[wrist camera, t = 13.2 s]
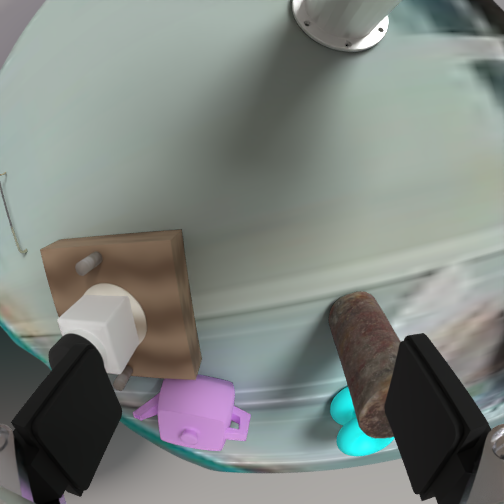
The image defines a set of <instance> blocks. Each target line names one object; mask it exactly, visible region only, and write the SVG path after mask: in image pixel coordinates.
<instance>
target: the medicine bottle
mask: <svg viewBox="0 0 504 504" xmlns="http://www.w3.org/2000/svg"><path fill="white" fill-rule="evenodd" d="M57 322H58V325H59V328H60V331H61V333H62V338H61V339H60V340H59V341H58V342H57V343H56V344H55V345H54V346H53V347H52V348H51V349H50V351H49V363H50V366H51V368H52V370H53V369H54V368H55V366H56V365H57V364H58V363H59V362H60V360H61V359H62V358H63V357H64V356H65V355H66V353H67V352H68V351H69V350H70V349H71V348H72V346H73V345H74V344H76V343H81V344H91V345H93V346H94V348H95V349H96V350H98V352H99V354H100V357H101V359H102V362H103V365H104V367H105V370H106V372H107V373H111V374H121V373H122V372H123V370H124V368H125V366H126V365H127V363H128V361H129V360H130V358H131V356H132V355H133V353H134V351H135V350H136V348H137V346H138V345H139V338H138V334H137V330H136V326H135V322H134V318H133V313H132V309H131V304H130V300H129V297H128V296H103V295H84V296H82V297H81V298H80V299H79V300H78V301H77V302H76V303H75V304H73V305H72V306H71V307H70V308H69V309H68V310H67V311H66V312H65V313H64V314H62V315H61V316H60V317H59V318H58V320H57Z"/></svg>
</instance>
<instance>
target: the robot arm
mask: <svg viewBox="0 0 504 504" xmlns="http://www.w3.org/2000/svg"><path fill="white" fill-rule="evenodd" d="M401 1H402V0H292V11H293V15H294V17H295V20H296V22H297V23H298V25H299V26H300V28H301V29H302V30H303V31H304V32H305V33H306V34H307V35H308V36H309V37H311V38H312V39H313V40H315V41H316V42H318V43H320V44H321V45H324V46H326V47H329V48H331V49H335V50H339V51H345V52H359V51H363V50H367V49H369V48H371V47H373V46H375V45H376V44H377V43H378V42H379V41H380V40H381V39H382V38H383V37H384V36H385V34H386V32H387V28H388V14H389V13H390V12H391V11H392V10H393V9H394V8H395V7H396V6H397V5H398V4H399V3H400V2H401ZM305 25H308V26H305ZM345 45H348V47H347V46H345ZM384 409H385V414H386V417H387V419H388V422H389V425H390V427H391V430H392V432H393V435H394V438H395V441H396V443H397V446H398V449H399V451H400V454H401V457H402V460H403V462H404V465H405V468H406V470H407V474H408V476H409V480H410V482H411V486H412V489H413V491H414V493H415V494H420V497H421V500H422V501H424V500H427V499H430V498H432V497H436V500H437V503H438V504H504V424H501V425H498V426H496V427H494V428H493V429H492V430H491V428H490V426H489V425H488V424H489V423H488V422H487V420H486V419H485V417H484V415H483V414H482V412H481V411H480V409H479V408H478V406H477V405H476V403H475V402H474V400H473V399H472V397H471V396H470V395H469V393H468V392H467V390H466V389H465V387H464V386H463V384H462V383H461V382H460V380H459V379H458V377H457V376H456V375H455V373H454V372H453V370H452V369H451V368H450V366H449V365H448V363H447V362H446V361H445V359H444V358H443V357H442V355H441V354H440V353H439V351H438V350H437V349H436V347H435V346H434V345H433V343H432V342H431V341H430V340H429V338H428V337H427V336H426V335H425V334H424V333H421V334H415V335H409V336H406V337H405V339H404V341H402V342H400V344H399V348H398V353H397V357H396V362H395V366H394V370H393V374H392V378H391V382H390V386H389V390H388V394H387V397H386V401H385V406H384ZM121 416H122V408H121V406H120V403H119V401H118V399H117V397H116V394H115V392H114V390H113V387H112V385H111V382H110V380H109V377H108V375H107V372H106V370H105V367H104V365H103V362H102V359H101V357H100V354H99V352H98V350H96V349H95V348H94V346H93V345H91V344H81V343H76V344H74V345H73V346H72V348H71V349H70V350H69V351H68V352H67V353H66V355H65V356H64V357H63V358H62V359H61V360H60V362H59V363H58V364H57V365H56V366H55V368H54V369H53V370H52V371H51V372H50V374H49V375H48V376H47V377H46V379H45V380H44V381H43V382H42V383H41V385H40V386H39V387H38V388H37V389H36V391H35V392H34V393H33V394H32V396H31V397H30V398H29V400H28V401H27V402H26V404H25V405H24V406H23V407H22V409H21V410H20V411H19V412H18V414H17V415H16V416H15V418H14V419H13V420H12V422H11V423H12V424H13V426H14V427H15V430H14V431H12V430H11V429H10V427H8V426H7V425H4V424H0V504H66V501H65V498H64V495H63V494H64V491H65V490H66V491H67V492H69V493H72V494H75V495H77V496H82V493H83V491H84V490H87V489H88V487H89V486H90V483H91V481H92V479H93V477H94V474H95V472H96V470H97V468H98V465H99V463H100V461H101V459H102V457H103V455H104V452H105V450H106V448H107V446H108V444H109V442H110V439H111V437H112V435H113V433H114V431H115V429H116V427H117V425H118V423H119V421H120V419H121Z"/></svg>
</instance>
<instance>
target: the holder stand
mask: <svg viewBox="0 0 504 504" xmlns="http://www.w3.org/2000/svg"><path fill="white" fill-rule="evenodd" d="M40 251H41V255H42V260H43V264H44V268H45V272H46V276H47V279H48V283H49V287H50V290H51V294H52V297H53V300H54V304H55V307H56V310H57V313H58V316H59V317H60V316H61V315H62V314H64V313H65V312H66V311H67V310H68V309H69V308H70V307H71V306H72V305H73V304H75V303H76V302H77V301H78V300H79V299H80V298H81V297H82V296H84V295H103V296H128V297H129V300H130V304H131V309H132V313H133V318H134V322H135V326H136V330H137V334H138V338H139V345H138V346H137V348H136V350H135V351H134V353H133V355H132V356H131V358H130V360H129V361H128V363H127V365H126V366H125V368H124V370H123V372H122V373H121V374H118V376H117V378H116V379H115V381H114V383H113V387H114V388H115V389H117V390H119V391H122V390H123V389H124V387H125V385H126V383H127V381H128V380H129V378H130V376H140V377H152V378H167V379H186V380H196V377H197V374H198V371H199V367H200V364H201V360H202V357H201V352H200V346H199V341H198V335H197V330H196V324H195V318H194V312H193V306H192V300H191V293H190V287H189V280H188V273H187V266H186V259H185V251H184V244H183V236H182V229H181V230H167V231H154V232H141V233H128V234H116V235H104V236H93V237H82V238H72V239H61V240H58V241H56V242H54V243H52V244H50V245H48V246H46V247H44V248H42V249H40Z"/></svg>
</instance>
